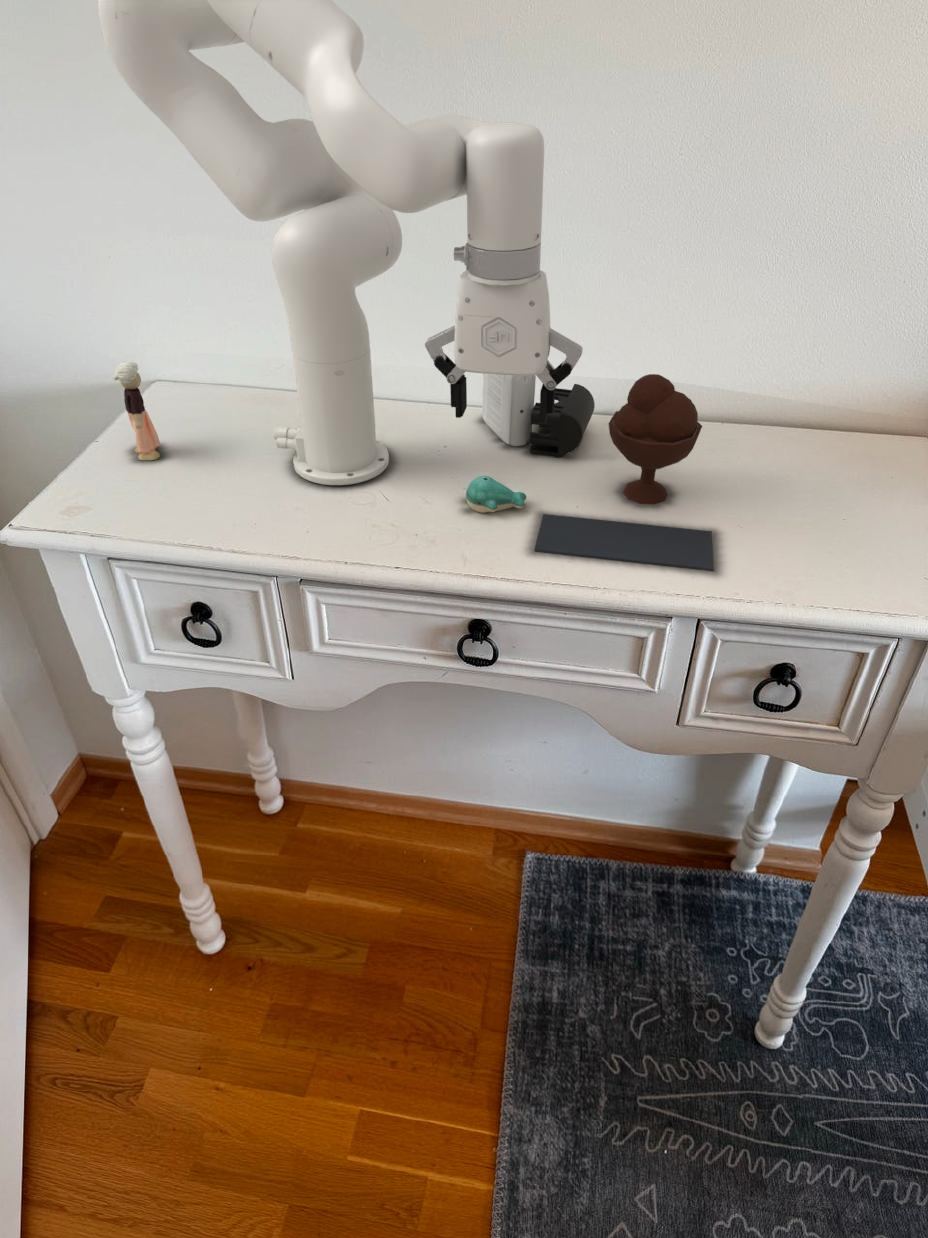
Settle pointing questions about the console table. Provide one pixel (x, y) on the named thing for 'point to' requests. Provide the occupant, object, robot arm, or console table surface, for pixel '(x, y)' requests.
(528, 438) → the photo printer
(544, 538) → the plate
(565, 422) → the end cap
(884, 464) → the console table surface
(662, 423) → the ice cream bowl
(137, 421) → the grandmother figurine
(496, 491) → the whale figurine
